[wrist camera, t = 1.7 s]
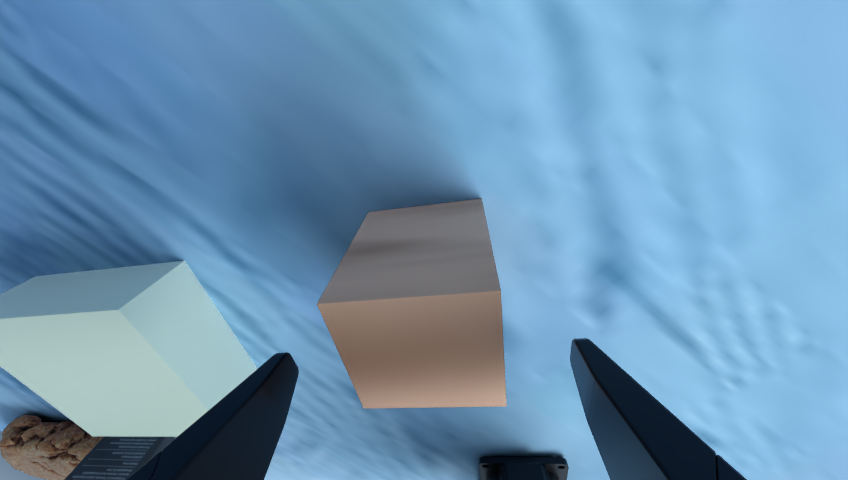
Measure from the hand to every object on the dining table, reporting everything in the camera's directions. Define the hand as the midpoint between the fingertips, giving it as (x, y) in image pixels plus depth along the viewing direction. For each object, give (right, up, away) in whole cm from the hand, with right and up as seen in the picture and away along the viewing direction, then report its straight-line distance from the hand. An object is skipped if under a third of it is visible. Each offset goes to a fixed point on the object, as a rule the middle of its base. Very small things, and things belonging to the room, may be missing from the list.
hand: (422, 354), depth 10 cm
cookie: (-32, -15, +19) cm, 40 cm away
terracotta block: (0, +3, +5) cm, 6 cm away
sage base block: (-17, -2, +10) cm, 19 cm away
